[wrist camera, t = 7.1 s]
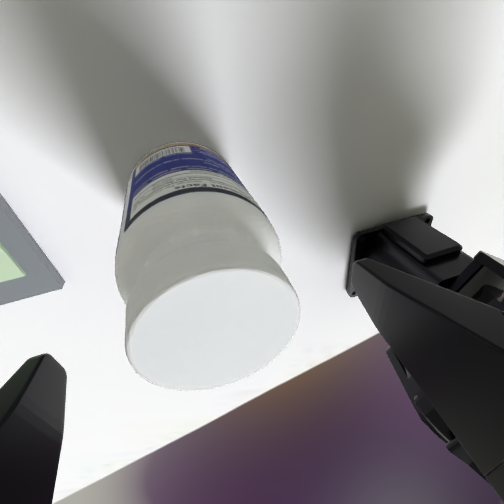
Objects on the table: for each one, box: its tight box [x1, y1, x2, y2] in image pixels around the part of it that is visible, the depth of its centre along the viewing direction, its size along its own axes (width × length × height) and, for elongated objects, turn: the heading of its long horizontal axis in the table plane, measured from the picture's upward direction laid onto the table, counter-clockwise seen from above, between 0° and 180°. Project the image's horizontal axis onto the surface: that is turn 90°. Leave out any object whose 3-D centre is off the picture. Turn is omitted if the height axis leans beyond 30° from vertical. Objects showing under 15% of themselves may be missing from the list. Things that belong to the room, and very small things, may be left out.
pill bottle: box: [115, 142, 300, 391], centre depth 11 cm, size 6×6×10 cm
